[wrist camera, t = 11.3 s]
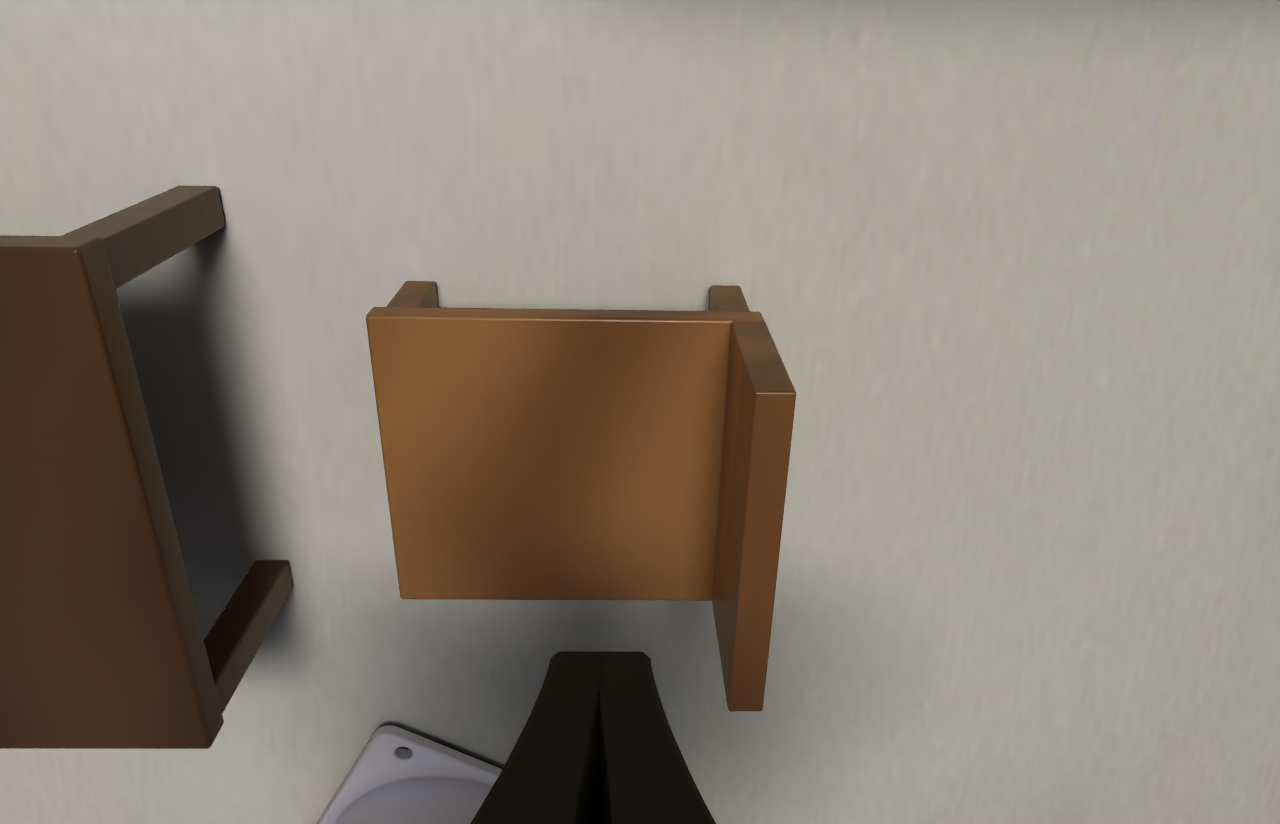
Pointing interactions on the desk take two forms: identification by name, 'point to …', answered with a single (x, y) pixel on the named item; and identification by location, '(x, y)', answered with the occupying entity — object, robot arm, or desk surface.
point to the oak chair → (589, 458)
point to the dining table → (102, 507)
